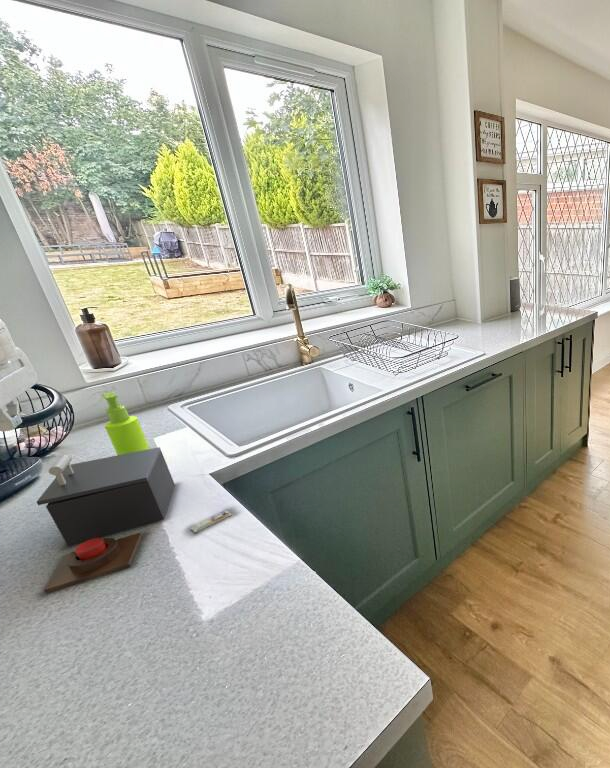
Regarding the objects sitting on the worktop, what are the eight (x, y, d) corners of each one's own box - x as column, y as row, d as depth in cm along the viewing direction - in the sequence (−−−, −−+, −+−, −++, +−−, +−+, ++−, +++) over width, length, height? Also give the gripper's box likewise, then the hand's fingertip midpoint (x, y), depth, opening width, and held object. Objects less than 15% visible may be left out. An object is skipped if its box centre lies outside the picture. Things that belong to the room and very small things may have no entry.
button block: (46, 595, 68) (38, 582, 67) (67, 559, 76) (60, 546, 75) (131, 568, 73) (125, 555, 72) (143, 537, 81) (137, 524, 79)
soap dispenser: (150, 457, 108) (120, 387, 100) (159, 465, 104) (129, 393, 97) (121, 468, 104) (88, 395, 96) (129, 477, 100) (95, 402, 92)
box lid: (38, 505, 74) (26, 482, 72) (66, 468, 85) (57, 447, 83) (147, 481, 81) (139, 459, 79) (160, 450, 92) (153, 430, 90)
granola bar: (194, 535, 81) (192, 530, 80) (190, 530, 82) (189, 525, 82) (232, 516, 85) (231, 512, 85) (228, 511, 87) (227, 507, 86)
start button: (75, 563, 71) (71, 555, 71) (83, 550, 74) (78, 542, 73) (103, 555, 73) (99, 547, 72) (109, 542, 76) (105, 534, 75)
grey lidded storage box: (68, 548, 78) (45, 506, 75) (92, 508, 89) (73, 469, 86) (164, 520, 85) (147, 481, 81) (175, 486, 96) (161, 450, 92)
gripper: (-20, 337, 72) (15, 408, 77) (-105, 372, 56) (-53, 460, 61) (30, 332, 75) (61, 401, 80) (-36, 364, 59) (8, 449, 64)
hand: (11, 427), depth 70 cm, fingers closed
